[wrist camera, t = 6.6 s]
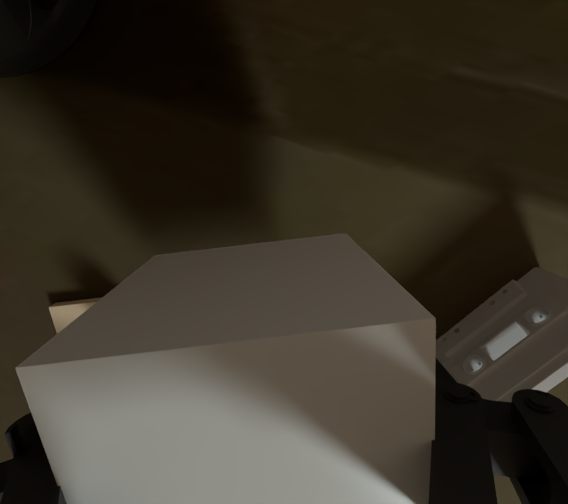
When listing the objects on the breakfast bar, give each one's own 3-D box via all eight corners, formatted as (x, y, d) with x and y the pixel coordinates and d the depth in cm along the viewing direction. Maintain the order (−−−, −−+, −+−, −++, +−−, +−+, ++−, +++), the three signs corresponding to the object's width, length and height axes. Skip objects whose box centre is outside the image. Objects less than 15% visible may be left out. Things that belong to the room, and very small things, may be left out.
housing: (154, 255, 16) (15, 367, 7) (345, 233, 16) (435, 318, 7) (189, 415, 18) (115, 648, 10) (355, 395, 18) (433, 607, 10)
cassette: (422, 373, 28) (476, 450, 21) (408, 359, 28) (459, 433, 20) (545, 277, 26) (653, 324, 19) (532, 260, 26) (638, 301, 18)
